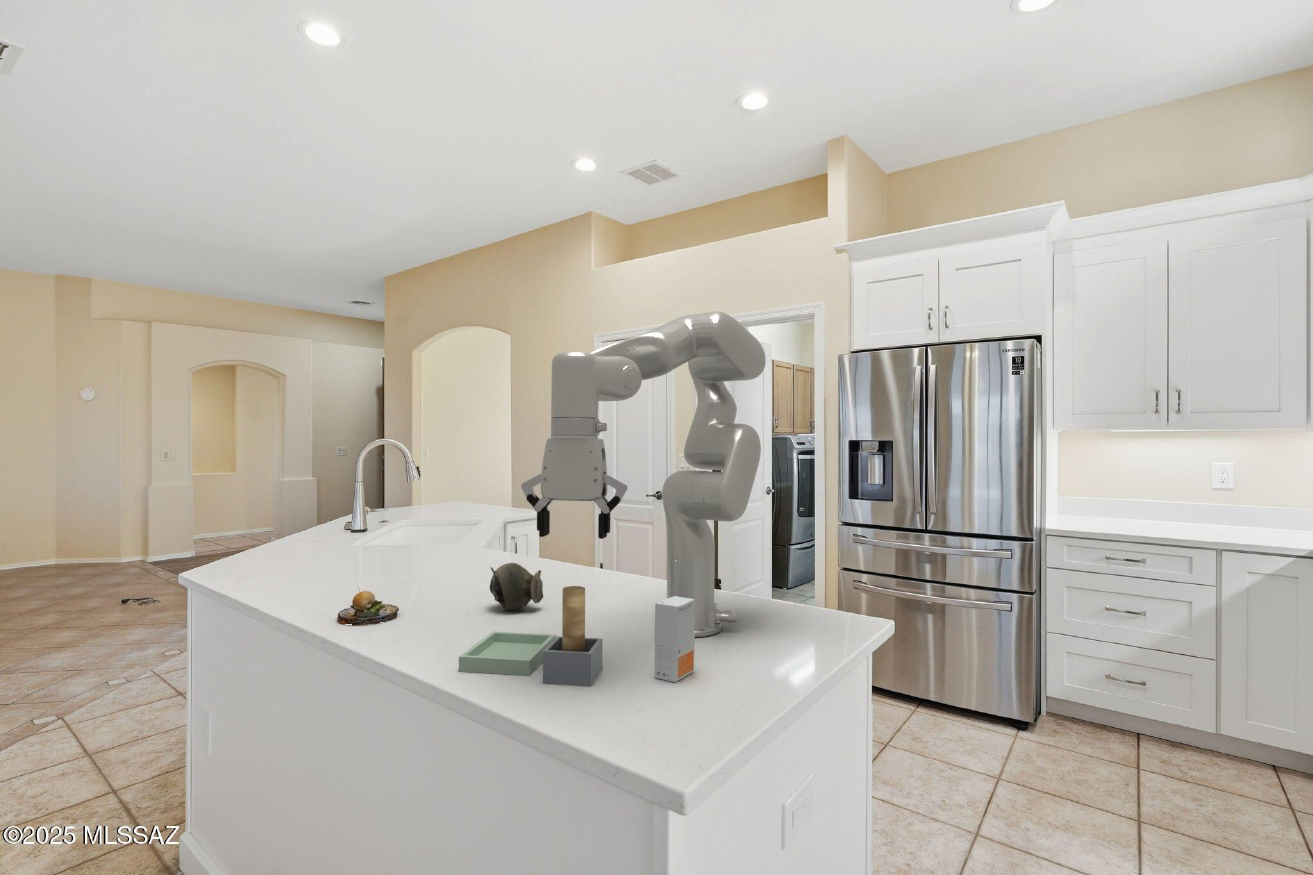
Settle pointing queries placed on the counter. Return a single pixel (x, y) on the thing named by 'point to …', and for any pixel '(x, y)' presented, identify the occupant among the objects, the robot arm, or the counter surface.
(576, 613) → the dowel
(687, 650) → the skincare box
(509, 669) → the tray
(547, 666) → the open box
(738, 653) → the counter surface
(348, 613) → the plate of food
